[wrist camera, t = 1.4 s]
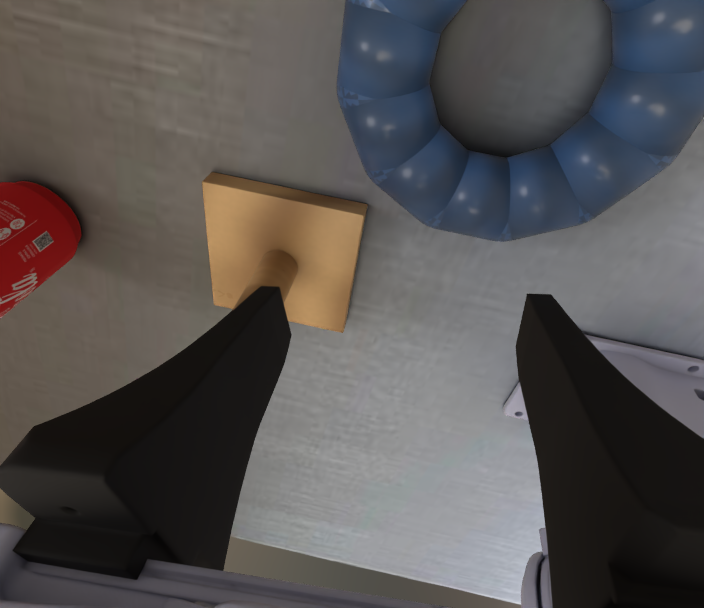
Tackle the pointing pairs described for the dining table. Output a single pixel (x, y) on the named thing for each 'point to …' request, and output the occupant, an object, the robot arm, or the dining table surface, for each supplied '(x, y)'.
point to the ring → (533, 166)
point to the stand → (283, 247)
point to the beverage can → (32, 238)
